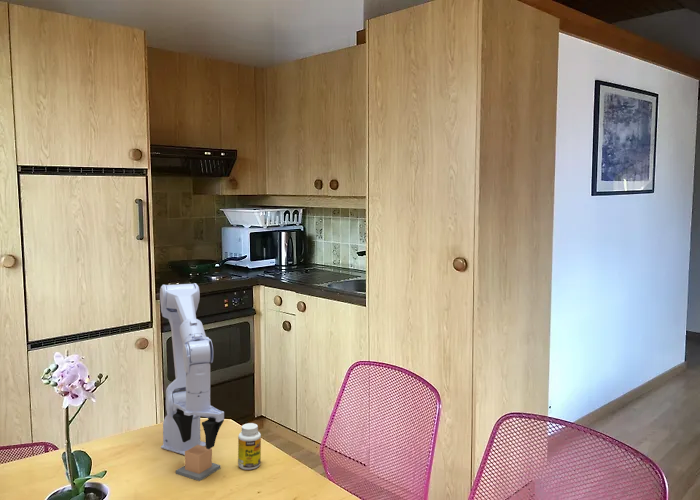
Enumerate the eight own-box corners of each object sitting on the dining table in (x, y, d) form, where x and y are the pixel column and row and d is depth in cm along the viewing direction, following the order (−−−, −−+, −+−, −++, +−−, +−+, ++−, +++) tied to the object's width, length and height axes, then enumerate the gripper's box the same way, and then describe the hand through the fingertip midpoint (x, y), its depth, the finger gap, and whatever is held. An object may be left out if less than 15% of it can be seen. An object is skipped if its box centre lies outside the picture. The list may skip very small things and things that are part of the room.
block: (184, 469, 139) (184, 451, 139) (197, 462, 143) (197, 444, 143) (199, 473, 137) (199, 455, 137) (211, 466, 141) (211, 448, 141)
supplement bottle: (243, 472, 140) (243, 432, 139) (234, 463, 144) (234, 424, 144) (264, 467, 143) (264, 427, 142) (255, 458, 148) (255, 420, 147)
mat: (175, 473, 139) (175, 470, 139) (197, 461, 145) (197, 458, 145) (199, 481, 135) (199, 477, 135) (220, 468, 142) (220, 465, 142)
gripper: (163, 389, 138) (164, 443, 140) (209, 400, 132) (210, 457, 133) (184, 381, 145) (184, 433, 146) (230, 391, 138) (229, 445, 139)
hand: (198, 444), depth 140 cm, fingers open, 7 cm apart
